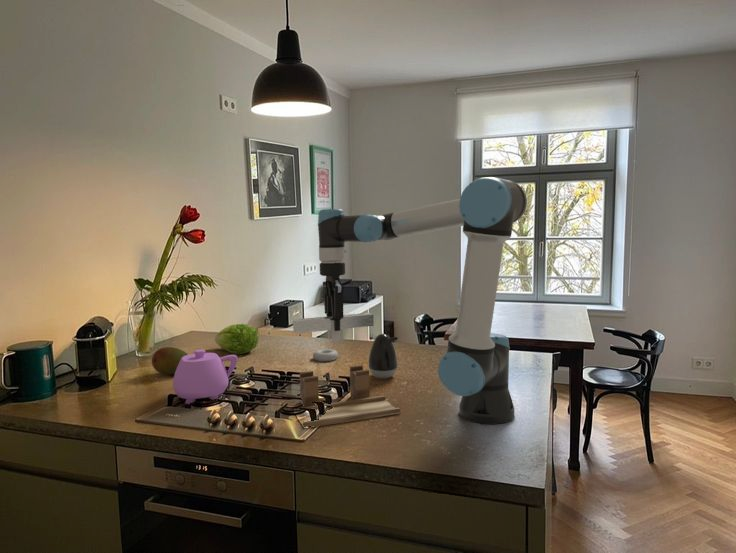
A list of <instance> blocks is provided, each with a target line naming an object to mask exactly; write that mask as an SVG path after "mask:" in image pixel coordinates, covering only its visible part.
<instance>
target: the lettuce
mask: <svg viewBox="0 0 736 553" xmlns="http://www.w3.org/2000/svg"><path fill="white" fill-rule="evenodd" d="M214 342H215V344H217V345H218V347H219V348H220V349H222V350H225V351H228V352H229V353H231V354H232V355H243V354H246V353H249V352H251V351H252V350H254V349H255V348H257V345H258V343H259V333H258V330H257V329H256V328H254V327H253V326H250V325H248V324H246V323H245V324H244V323H237V324H232V325H229V326H226V327H224V328H223V329H221V330H220V331H218V333H217V334H216V335H215V337H214Z"/></svg>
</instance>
